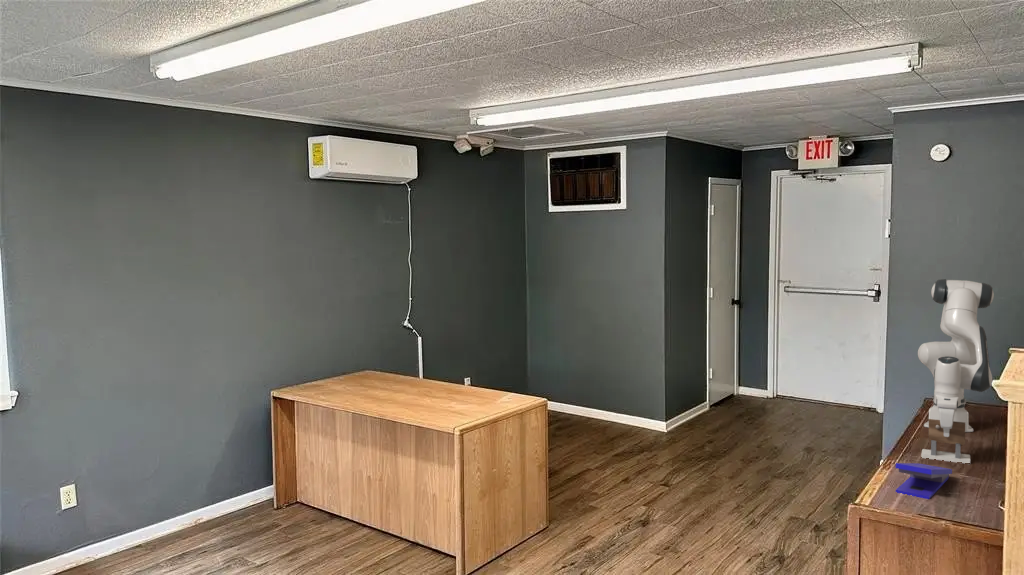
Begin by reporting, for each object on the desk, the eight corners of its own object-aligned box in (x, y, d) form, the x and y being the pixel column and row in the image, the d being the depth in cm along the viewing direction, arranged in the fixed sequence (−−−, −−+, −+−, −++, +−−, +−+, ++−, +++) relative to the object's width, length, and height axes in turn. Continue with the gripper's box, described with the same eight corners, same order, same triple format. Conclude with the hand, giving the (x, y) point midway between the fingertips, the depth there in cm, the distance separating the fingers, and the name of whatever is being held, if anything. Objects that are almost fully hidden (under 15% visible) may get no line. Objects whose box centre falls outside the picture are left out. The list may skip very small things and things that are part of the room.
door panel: (928, 439, 284) (929, 418, 284) (964, 443, 278) (965, 422, 277) (928, 441, 281) (928, 421, 280) (964, 445, 274) (965, 424, 274)
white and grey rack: (922, 452, 288) (922, 435, 287) (970, 458, 279) (970, 440, 279) (921, 457, 281) (921, 440, 281) (970, 464, 273) (970, 445, 272)
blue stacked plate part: (893, 493, 244) (894, 464, 243) (915, 472, 264) (916, 446, 264) (932, 501, 236) (932, 471, 236) (952, 479, 257) (952, 452, 256)
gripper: (938, 393, 289) (937, 428, 290) (937, 403, 272) (936, 440, 273) (957, 395, 286) (956, 430, 287) (956, 405, 269) (955, 442, 269)
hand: (946, 435), depth 280 cm, fingers closed on door panel, 3 cm apart
